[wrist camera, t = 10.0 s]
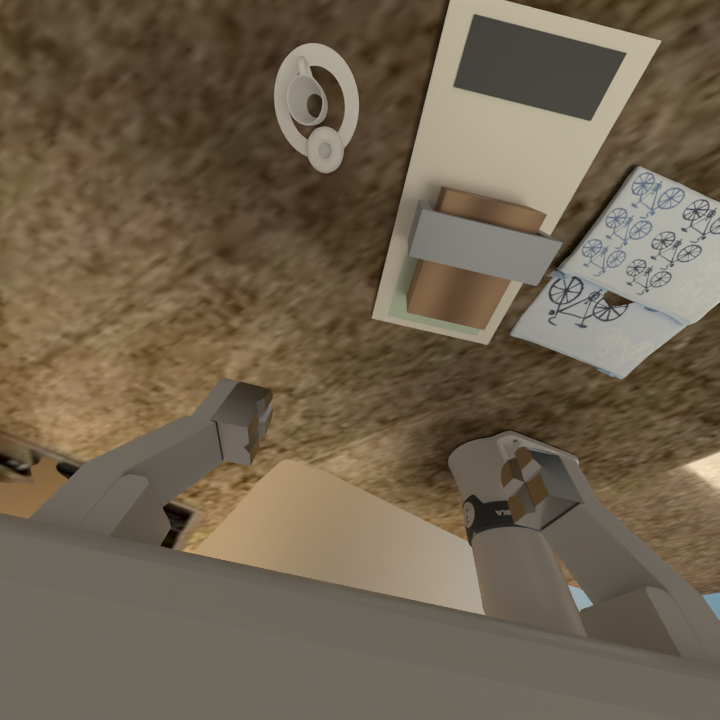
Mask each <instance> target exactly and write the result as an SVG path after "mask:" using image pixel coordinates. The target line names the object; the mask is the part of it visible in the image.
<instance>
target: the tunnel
mask: <svg viewBox="0 0 720 720" xmlns="http://www.w3.org/2000/svg"><path fill="white" fill-rule="evenodd" d="M407 242H408V254H409V256H410V257H414V258H419V259H423V260H427V261H431V262H436V263H440V264H444V265H449V266H453V267H457V268H461V269H466V270H470V271H474V272H479V273H483V274H487V275H491V276H496V277H500V278H504V279H508V280H513V281H517V282H521V283H526V284H530V285H534V286H537V285H538V283H539V282H540V280H541V278H542V277H543V275H544V273H545V272H546V270H547V269H548V267H549V265H550V264H551V262H552V260H553V259H554V257H555V255H556V254H557V252H558V250H559V249H560V247H561V245H562V244H563V242H561V241H559V240H557V239H555V238H554V237H552V236H550V235H548V234H547V233H545V232H543V231H541V230H539V231H538V232H537V234H536V235H534V234H530V233H526V232H521V231H517V230H513V229H509V228H505V227H500V226H496V225H492V224H488V223H484V222H479V221H475V220H471V219H467V218H463V217H458V216H454V215H450V214H446V213H442V212H437V211H433V210H432V208H431V206H430V204H429V202H427V201H422V200H418V204H417V207H416V211H415V215H414V218H413V222H412V225H411V229H410V232H409V236H408V239H407Z"/></svg>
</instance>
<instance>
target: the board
mask: <svg viewBox="0 0 720 720" xmlns="http://www.w3.org/2000/svg"><path fill="white" fill-rule="evenodd" d="M660 43H661V41H660V40H656V39H652V38H648V37H644V36H640V35H637V34H633V33H629V32H625V31H621V30H617V29H613V28H610V27H606V26H602V25H598V24H594V23H590V22H586V21H582V20H579V19H575V18H571V17H567V16H563V15H559V14H555V13H551V12H548V11H544V10H540V9H536V8H532V7H528V6H524V5H521V4H517V3H513V2H509V1H505V0H450V1H449V5H448V10H447V14H446V18H445V22H444V26H443V30H442V34H441V38H440V42H439V46H438V50H437V54H436V58H435V62H434V66H433V70H432V74H431V79H430V83H429V87H428V91H427V95H426V99H425V103H424V107H423V111H422V115H421V119H420V123H419V127H418V131H417V135H416V139H415V144H414V148H413V152H412V156H411V160H410V164H409V168H408V172H407V176H406V180H405V184H404V188H403V192H402V196H401V200H400V204H399V209H398V213H397V217H396V221H395V225H394V229H393V233H392V237H391V241H390V245H389V249H388V253H387V257H386V261H385V265H384V269H383V274H382V278H381V282H380V286H379V290H378V294H377V298H376V302H375V306H374V310H373V314H372V319H376V320H381V321H385V322H389V323H394V324H398V325H403V326H407V327H411V328H416V329H420V330H425V331H429V332H433V333H438V334H442V335H447V336H451V337H455V338H460V339H464V340H469V341H473V342H477V343H482V344H486V345H488V343H489V342H490V340H491V338H492V336H493V335H494V333H495V331H496V329H497V328H498V326H499V324H500V322H501V321H502V319H503V317H504V315H505V314H506V312H507V310H508V308H509V307H510V305H511V303H512V301H513V300H514V298H515V296H516V294H517V293H518V291H519V289H520V287H521V286H522V284H523V283H521V282H517V281H513V280H511V282H510V284H509V286H508V288H507V290H506V291H505V293H504V295H503V297H502V299H501V301H500V302H499V304H498V306H497V308H496V310H495V312H494V313H493V315H492V317H491V319H490V321H489V323H488V325H487V326H486V328H485V330H481V329H477V328H472V327H468V326H464V325H459V324H455V323H451V322H446V321H442V320H437V319H433V318H429V317H424V316H420V315H416V314H411V313H407V305H406V297H407V294H408V290H409V287H410V284H411V281H412V278H413V275H414V271H415V268H416V265H417V262H418V259H419V258H414V257H410V256H409V254H408V242H407V239H408V236H409V232H410V229H411V225H412V222H413V218H414V215H415V211H416V207H417V204H418V200H422V201H427V202H429V204H430V206H431V208H432V210H433V211H434V208H435V205H436V202H437V199H438V195H439V192H440V189H441V186H444V187H448V188H452V189H457V190H461V191H465V192H469V193H473V194H477V195H482V196H486V197H490V198H494V199H498V200H502V201H506V202H511V203H515V204H519V205H523V206H527V207H531V208H533V209H536V210H538V211H540V212H542V213H545V214H547V216H546V218H545V219H544V221H543V223H542V225H541V227H540V229H539V230H541V231H543V232H545V233H547V234H548V235H551V233H552V231H553V230H554V228H555V226H556V224H557V223H558V221H559V219H560V217H561V216H562V214H563V212H564V210H565V209H566V207H567V205H568V204H569V202H570V200H571V198H572V197H573V195H574V193H575V191H576V190H577V188H578V186H579V184H580V183H581V181H582V179H583V177H584V176H585V174H586V172H587V170H588V169H589V167H590V165H591V163H592V162H593V160H594V158H595V156H596V155H597V153H598V151H599V149H600V148H601V146H602V144H603V142H604V141H605V139H606V137H607V135H608V134H609V132H610V130H611V128H612V127H613V125H614V123H615V121H616V120H617V118H618V116H619V114H620V113H621V111H622V109H623V107H624V106H625V104H626V102H627V100H628V99H629V97H630V95H631V93H632V92H633V90H634V88H635V86H636V85H637V83H638V81H639V79H640V78H641V76H642V74H643V72H644V71H645V69H646V67H647V65H648V64H649V62H650V60H651V58H652V57H653V55H654V53H655V51H656V50H657V48H658V46H659V44H660Z"/></svg>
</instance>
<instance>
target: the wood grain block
mask: <svg viewBox="0 0 720 720" xmlns="http://www.w3.org/2000/svg"><path fill="white" fill-rule="evenodd" d="M434 211H437V212H442V213H446V214H450V215H454V216H458V217H463V218H467V219H471V220H475V221H479V222H484V223H488V224H492V225H496V226H500V227H505V228H509V229H513V230H517V231H521V232H526V233H530V234H534V235H536V234H537V232H538V231H539V229H540V227H541V225H542V223H543V221H544V219H545V218H546V216H547V214H545V213H542V212H540V211H538V210H536V209H533V208H531V207H527V206H523V205H519V204H515V203H511V202H506V201H502V200H498V199H494V198H490V197H486V196H482V195H477V194H473V193H469V192H465V191H461V190H457V189H452V188H448V187H444V186H441V189H440V192H439V195H438V199H437V202H436V205H435V208H434ZM510 282H511V280H508V279H504V278H500V277H496V276H491V275H487V274H483V273H479V272H474V271H470V270H466V269H461V268H457V267H453V266H449V265H444V264H440V263H436V262H431V261H427V260H423V259H418V262H417V265H416V268H415V271H414V275H413V278H412V281H411V284H410V287H409V290H408V294H407V297H406V305H407V313H411V314H416V315H420V316H424V317H429V318H433V319H437V320H442V321H446V322H451V323H455V324H459V325H464V326H468V327H472V328H477V329H481V330H485V328H486V326H487V325H488V323H489V321H490V319H491V317H492V315H493V313H494V312H495V310H496V308H497V306H498V304H499V302H500V301H501V299H502V297H503V295H504V293H505V291H506V290H507V288H508V286H509V284H510Z"/></svg>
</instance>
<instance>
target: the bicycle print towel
mask: <svg viewBox="0 0 720 720" xmlns="http://www.w3.org/2000/svg"><path fill="white" fill-rule="evenodd" d="M557 269H558V270H557V271H553V272H552V273H551V274H549V275H547V276H550V277H552V278H551V279H550V280H549V282H548V283H547V284H546V285H545V287H544V288H543V289H542V290H541V292H540V293H539V294H538V296H537V297H536V298H535V300H534V301H533V302H532V303H531V305H530V306H529V307H528V308H527V309H526V311H525V312H524V313H523V314H522V316H521V317H520V318H519V320H518V321H517V322H516V324H515V325H514V327H513V328H512V330H511V332H510V333H509V334H510V335H511V336H512V337H516V338H521V339H524V340H528V341H530V342H533V343H536V344H539V345H541V346H544V347H546V348H549V349H551V350H554V351H557V352H559V353H562V354H564V355H567V356H569V357H572V358H575V359H577V360H580V361H582V362H585V363H587V364H590V365H593V366H595V367H596V368H597V369H598V368H599V369H598V370H599V371H601V372H603V373H606V374H608V375H609V376H610V377H617V378H619V379H623V378H624V377H626V376H627V375H628V374H629V373H630V372H631V371H632V370H633V369H634V368H635V367H636V366H637V365H639V364H640V363H641V362H642V361H643V360H644V359H645V358H646V357H648V356H649V355H650V354H651V353H653V352H654V351H655V350H656V349H658V348H659V347H660V346H662V345H663V344H664V343H666V342H667V341H668V340H669V339H671V338H672V337H673V336H674V335H676V334H677V333H678V332H680V331H681V330H682V329H683V328H685V327H686V326H687V325H691V324H694V323H696V322H697V321H698V320H699V319H701V318H702V317H703V316H704V315H705V314H706V313H707V312H708V311H709V310H711V309H712V308H713V307H714V306H716V305H717V304H718V303H719V302H720V202H718V201H716V200H713V199H711V198H709V197H706V196H704V195H702V194H700V193H699V192H696V191H694V190H692V189H690V188H688V187H686V186H684V185H682V184H680V183H677V182H675V181H672V180H670V179H668V178H665V177H663V176H661V175H659V174H657V173H654V172H652V171H650V170H647V169H645V168H643V167H641V166H638V167H636V168H635V169H634V170H633V171H632V172H631V174H630V175H629V176H628V177H627V178H626V180H625V181H624V183H623V185H622V186H621V188H620V189H619V191H618V192H617V193H616V195H615V196H614V197H613V199H612V200H611V201H610V203H609V204H608V205H607V207H606V208H605V210H604V211H603V212H602V214H601V215H600V217H599V218H598V219H597V221H596V222H595V223H594V225H593V226H592V227H591V229H590V230H589V231H588V233H587V234H586V235H585V237H584V238H583V239H582V241H581V242H580V243H579V245H578V246H577V247H576V248H575V250H574V251H573V252H572V253H571V255H570V256H569V257H567V258H566V259H565V260H564V261H563V262H562V263H561V264H560V266H559V267H557ZM607 291H610V292H613V293H615V294H617V295H620V296H622V297H624V298H626V299H628V300H631V301H633V302H635V303H631V304H629V305H622V306H616V307H615V306H609V305H608V304H607V300H605V297H604V295H603V294H604V293H605V292H607Z"/></svg>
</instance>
